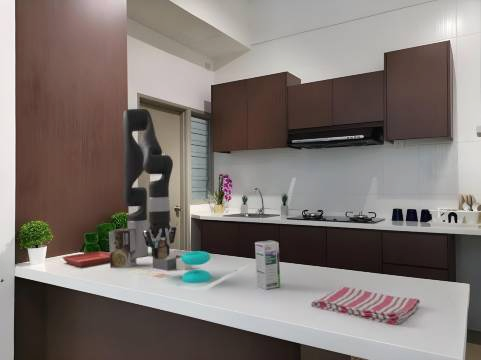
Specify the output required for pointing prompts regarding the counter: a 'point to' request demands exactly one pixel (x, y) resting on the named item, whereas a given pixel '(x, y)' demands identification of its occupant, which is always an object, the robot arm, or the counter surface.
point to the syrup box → (267, 264)
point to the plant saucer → (88, 259)
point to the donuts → (196, 259)
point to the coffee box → (122, 248)
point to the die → (181, 265)
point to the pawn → (162, 250)
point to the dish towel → (368, 305)
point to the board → (160, 267)
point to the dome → (171, 254)
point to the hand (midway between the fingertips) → (160, 256)
